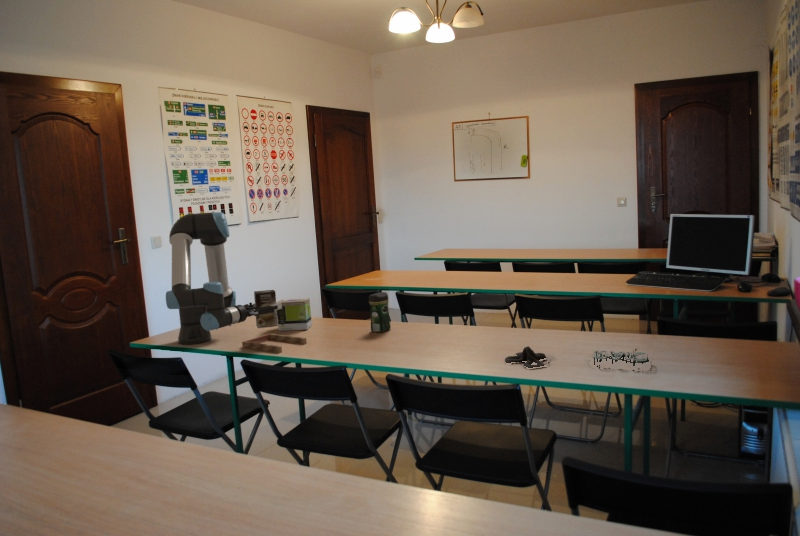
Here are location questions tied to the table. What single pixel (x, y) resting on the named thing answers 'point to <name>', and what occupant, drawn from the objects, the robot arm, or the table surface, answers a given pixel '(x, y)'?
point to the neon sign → (621, 357)
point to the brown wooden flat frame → (271, 348)
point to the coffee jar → (379, 312)
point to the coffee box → (265, 300)
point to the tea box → (294, 314)
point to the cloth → (527, 358)
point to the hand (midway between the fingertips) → (272, 304)
